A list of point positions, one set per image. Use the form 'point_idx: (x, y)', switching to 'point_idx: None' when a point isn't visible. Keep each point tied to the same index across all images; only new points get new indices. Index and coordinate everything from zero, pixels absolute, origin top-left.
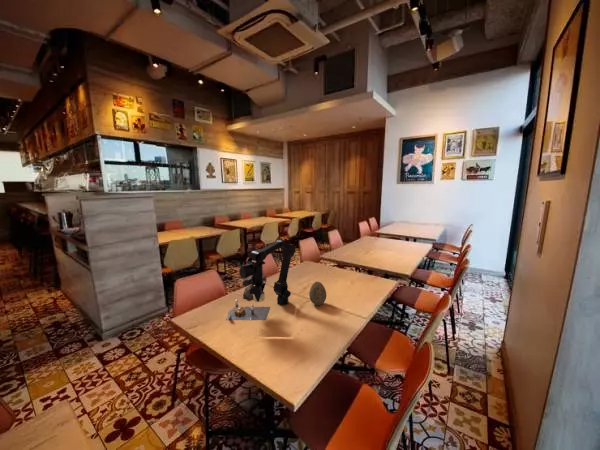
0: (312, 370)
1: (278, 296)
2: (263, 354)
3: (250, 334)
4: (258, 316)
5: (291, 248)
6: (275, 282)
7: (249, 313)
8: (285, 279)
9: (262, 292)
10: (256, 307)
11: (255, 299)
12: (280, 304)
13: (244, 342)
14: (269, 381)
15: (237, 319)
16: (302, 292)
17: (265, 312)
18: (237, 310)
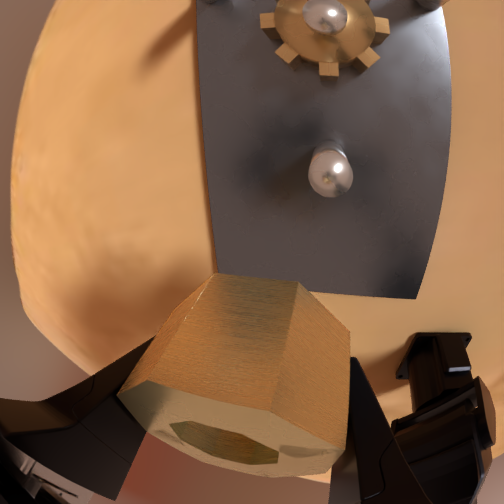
0: (74, 357)
1: (441, 391)
2: (51, 271)
3: (98, 203)
4: (265, 222)
5: None
6: (464, 496)
7: (321, 127)
8: None
9: (248, 468)
10: (433, 184)
11: (160, 333)
12: (420, 353)
13: (58, 193)
14: (22, 285)
15: (205, 50)
16: (493, 399)
17: (331, 271)
18: (290, 5)
